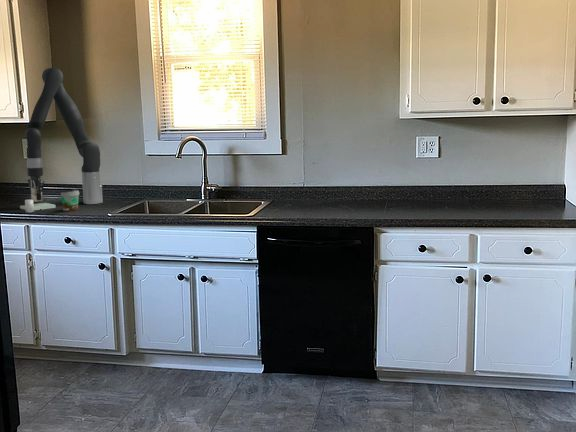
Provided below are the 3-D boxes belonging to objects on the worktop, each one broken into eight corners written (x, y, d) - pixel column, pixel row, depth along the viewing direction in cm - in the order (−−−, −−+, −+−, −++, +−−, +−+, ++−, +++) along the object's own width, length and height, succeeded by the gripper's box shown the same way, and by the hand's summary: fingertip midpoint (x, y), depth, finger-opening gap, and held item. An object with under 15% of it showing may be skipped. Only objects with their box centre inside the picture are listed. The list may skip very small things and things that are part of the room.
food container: (72, 212, 332) (71, 192, 330) (61, 212, 333) (60, 192, 331) (85, 208, 344) (84, 189, 342) (74, 208, 345) (73, 189, 343)
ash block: (39, 200, 348) (38, 186, 347) (42, 200, 346) (41, 187, 344) (31, 201, 346) (30, 187, 344) (35, 201, 343) (34, 188, 342)
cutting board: (45, 205, 355) (45, 202, 355) (55, 207, 348) (55, 204, 347) (20, 208, 345) (20, 205, 345) (29, 210, 338) (29, 208, 337)
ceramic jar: (31, 210, 338) (31, 199, 337) (35, 211, 335) (34, 200, 334) (24, 211, 335) (23, 200, 334) (27, 212, 332) (26, 200, 331)
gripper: (48, 167, 340) (50, 200, 343) (35, 165, 350) (37, 197, 353) (34, 168, 335) (36, 201, 338) (21, 166, 345) (24, 199, 348)
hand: (37, 199), depth 345 cm, fingers closed on ash block, 4 cm apart
